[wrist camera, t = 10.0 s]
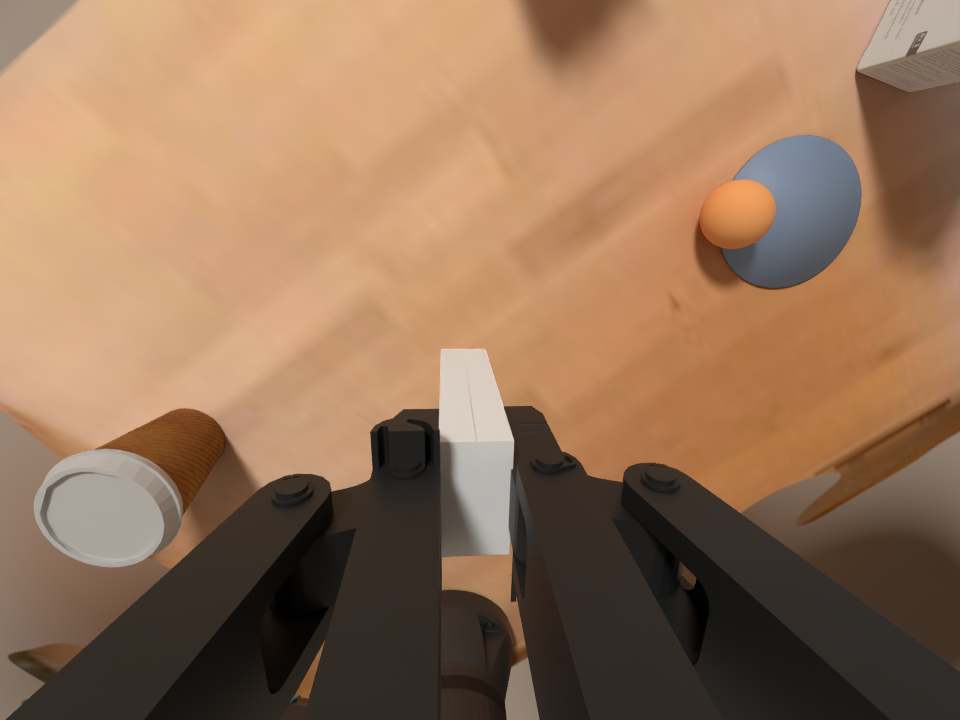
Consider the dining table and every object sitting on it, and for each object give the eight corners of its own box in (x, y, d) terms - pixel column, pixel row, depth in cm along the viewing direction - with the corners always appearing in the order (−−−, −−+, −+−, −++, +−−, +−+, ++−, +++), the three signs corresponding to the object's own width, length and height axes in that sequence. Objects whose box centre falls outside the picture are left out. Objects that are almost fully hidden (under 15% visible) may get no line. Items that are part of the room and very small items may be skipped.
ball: (782, 252, 36) (722, 252, 35) (734, 246, 41) (680, 245, 40) (801, 179, 34) (738, 176, 33) (748, 181, 39) (692, 179, 38)
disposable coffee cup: (192, 373, 41) (95, 436, 30) (263, 448, 44) (199, 531, 33) (115, 426, 42) (-6, 506, 31) (189, 496, 45) (103, 592, 34)
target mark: (839, 286, 43) (840, 286, 43) (707, 288, 42) (709, 289, 42) (876, 135, 39) (878, 135, 38) (731, 135, 38) (733, 135, 38)
